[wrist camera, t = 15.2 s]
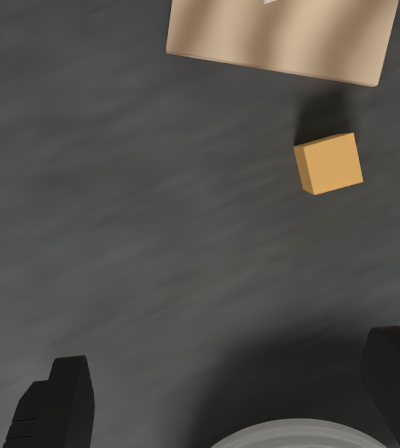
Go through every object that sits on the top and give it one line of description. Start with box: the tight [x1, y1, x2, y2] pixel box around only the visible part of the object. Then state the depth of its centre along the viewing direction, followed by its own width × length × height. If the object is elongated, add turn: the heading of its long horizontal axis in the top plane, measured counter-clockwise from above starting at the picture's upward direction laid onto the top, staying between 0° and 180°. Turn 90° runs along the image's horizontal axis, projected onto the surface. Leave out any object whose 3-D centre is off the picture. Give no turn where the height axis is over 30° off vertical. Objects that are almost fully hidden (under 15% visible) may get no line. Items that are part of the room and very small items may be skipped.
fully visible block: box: [294, 133, 363, 195], centre depth 32 cm, size 4×4×4 cm
